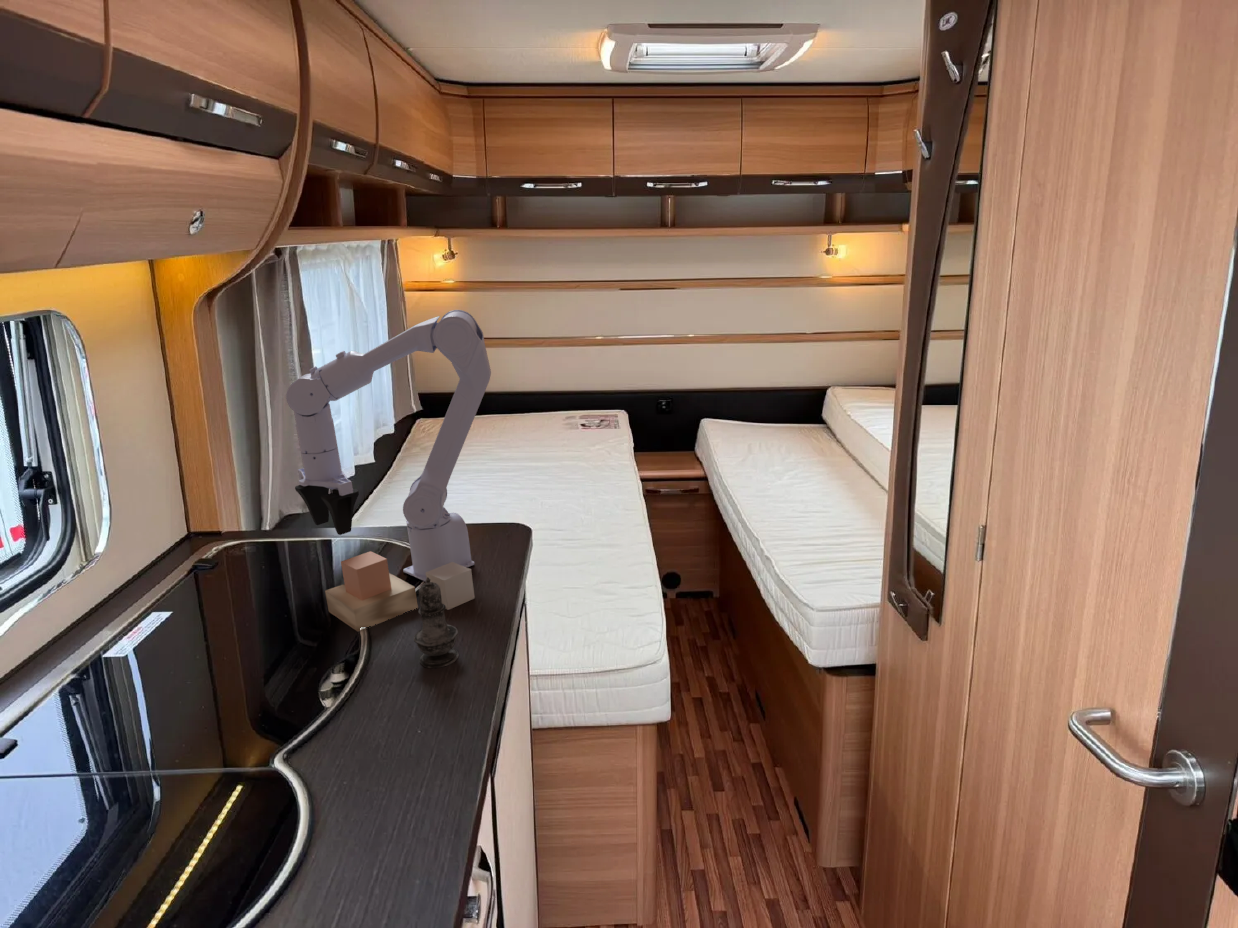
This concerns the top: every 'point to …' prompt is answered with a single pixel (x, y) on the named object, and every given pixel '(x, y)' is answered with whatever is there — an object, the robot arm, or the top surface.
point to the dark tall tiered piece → (435, 629)
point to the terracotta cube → (366, 575)
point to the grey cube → (453, 584)
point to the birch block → (371, 604)
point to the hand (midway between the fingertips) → (333, 527)
